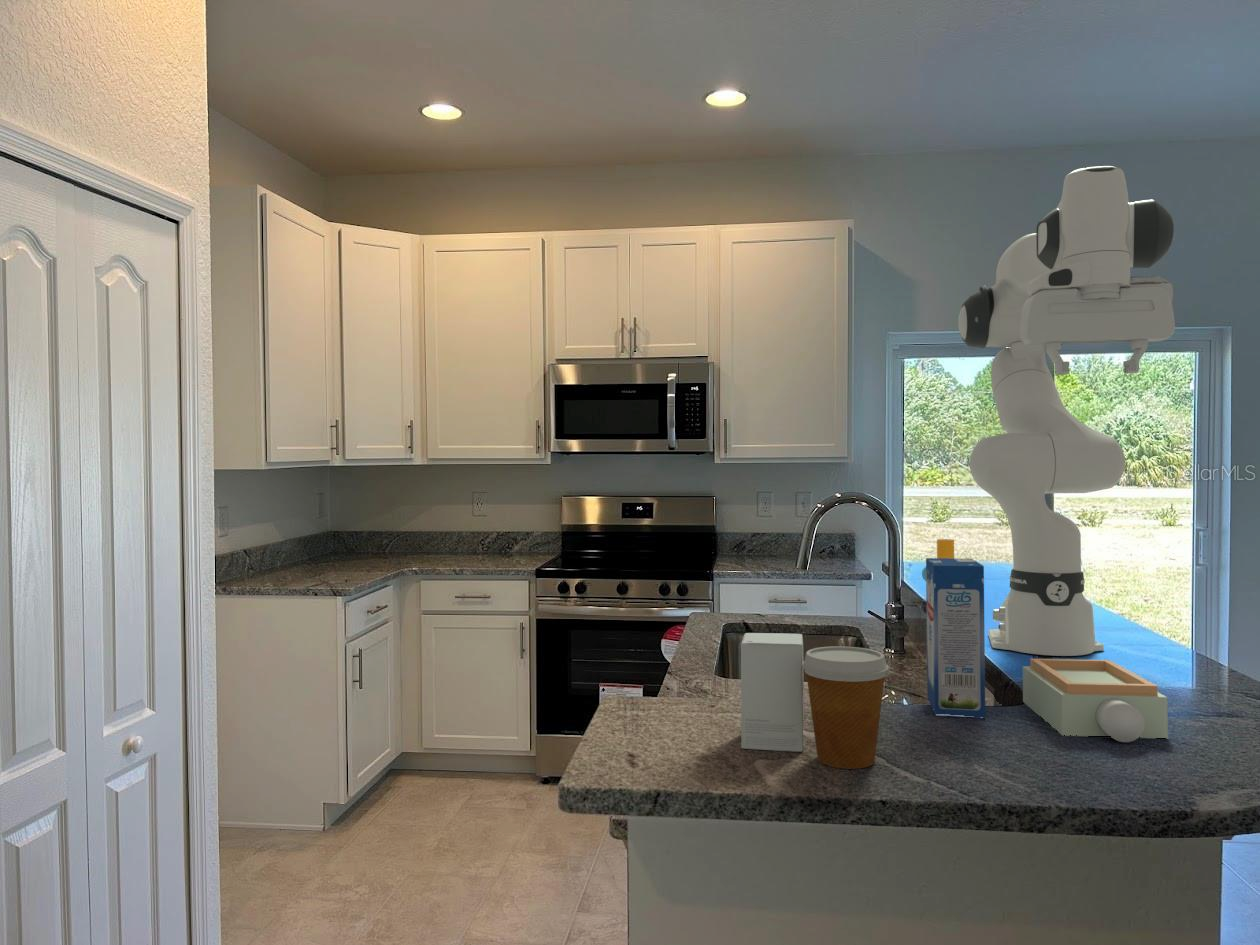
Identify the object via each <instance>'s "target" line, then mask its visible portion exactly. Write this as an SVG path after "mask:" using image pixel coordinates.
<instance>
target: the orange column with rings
mask: <svg viewBox="0 0 1260 945" xmlns="http://www.w3.org/2000/svg"><path fill="white" fill-rule="evenodd" d="M936 558H951V559H955V540H954V539H950V538H939V539H938V538H937V539H936ZM921 577H922V579H923V580H924V582H926V566H924V567H923V569H922V572H921Z"/></svg>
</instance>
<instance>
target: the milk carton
mask: <svg viewBox="0 0 1260 945" xmlns="http://www.w3.org/2000/svg"><path fill="white" fill-rule="evenodd" d="M925 567H926V581H925V582H926V583H925V586H926V589H925V592H926V594H925V595H926V597H925V598H926V601H925V602H926V669H927V670H926V673H927V674H926V679H927V680H926V681H927V682H926V683H927V686H926V690H927V693H926V694H927V695H926V696H927V697H926V698H927V699H928V702H929V704H930V706H931V709H932V710H933V709H934V711H933V713H934V712H935V714H950V715H964V716H974V717H983V718H985V719H986V670H985V669H986V662H985V660H986V659H985V656H986V654H985V650H986V649H985V644H986V643H985V642H986V641H985V640H986V639H985V638H986V637H985V566H984V565H983V564H981V563H979V562H978V561H976V560H975V559H973V558H954V559H951V558H937V557H936V558H935V557H927V558H925ZM935 714H934V715H935ZM983 718H982V719H983Z"/></svg>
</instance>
